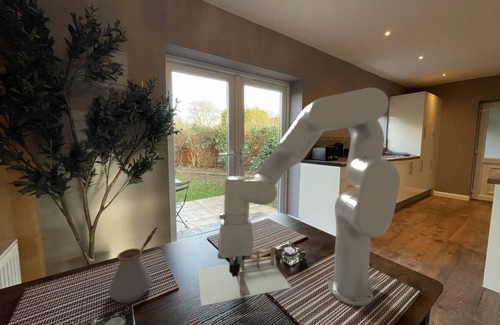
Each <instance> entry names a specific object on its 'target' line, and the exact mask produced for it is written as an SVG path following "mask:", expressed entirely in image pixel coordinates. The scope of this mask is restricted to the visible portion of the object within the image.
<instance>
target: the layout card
mask: <svg viewBox="0 0 500 325" xmlns="http://www.w3.org/2000/svg"><path fill="white" fill-rule="evenodd" d="M256 265H257V262H256V263H249V264H244V269H242V272H244V294H241V295H240V284H239V281H238V276H237V277H236V276H235V277H232V274H231V273H230V272H229V263H227V264H222V265H217V266H209V267H204V268H198V269H197V276H198V277H197V278H198V288H199V298H200V306H201V307H203V306H209V305H213V304H217V303H218V304H219V303H223V302H228V301H229V302H230V301H232V300H237V299H242V298H248V297H253V296H257V295H263V294H267V293H272V292H276V291H277V292H278V291H282V290H287V289H291V288H292V286H291V285H290V283H289V281H287V279H286V278H285V277H284V275H283V274H282V272H281V270H280V269H279V268H278V267H277V265H276V263H275V264H271V263H270V260H268V261H262V262H259V266H256Z"/></svg>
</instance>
